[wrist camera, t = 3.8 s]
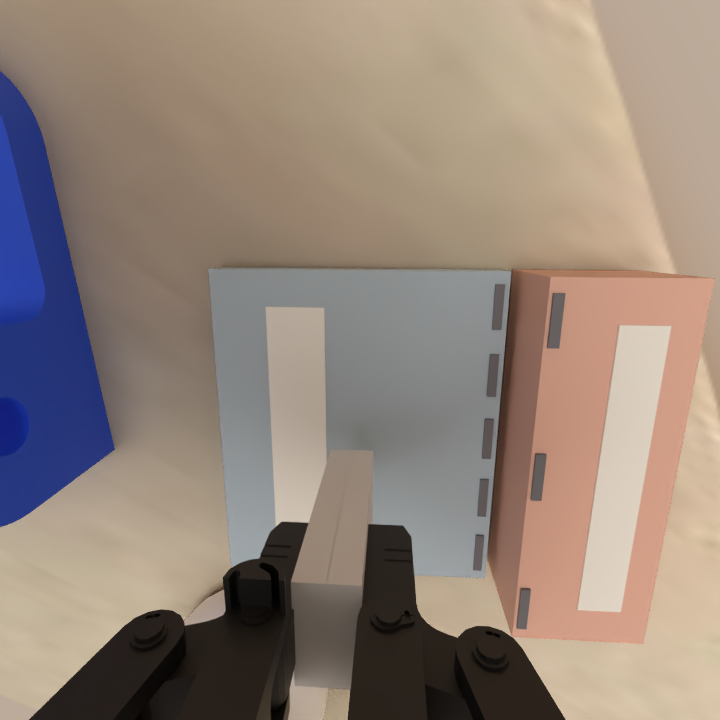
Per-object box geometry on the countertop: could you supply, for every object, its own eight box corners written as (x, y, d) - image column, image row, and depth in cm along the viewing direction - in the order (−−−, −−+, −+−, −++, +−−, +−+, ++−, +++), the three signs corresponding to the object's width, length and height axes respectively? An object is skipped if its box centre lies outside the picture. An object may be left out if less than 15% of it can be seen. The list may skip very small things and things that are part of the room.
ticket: (221, 267, 20) (206, 268, 18) (502, 269, 19) (512, 271, 17) (240, 546, 23) (230, 568, 22) (478, 556, 22) (485, 580, 21)
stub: (513, 269, 19) (551, 277, 14) (637, 270, 18) (717, 278, 14) (487, 560, 22) (512, 639, 18) (592, 564, 22) (644, 646, 17)
